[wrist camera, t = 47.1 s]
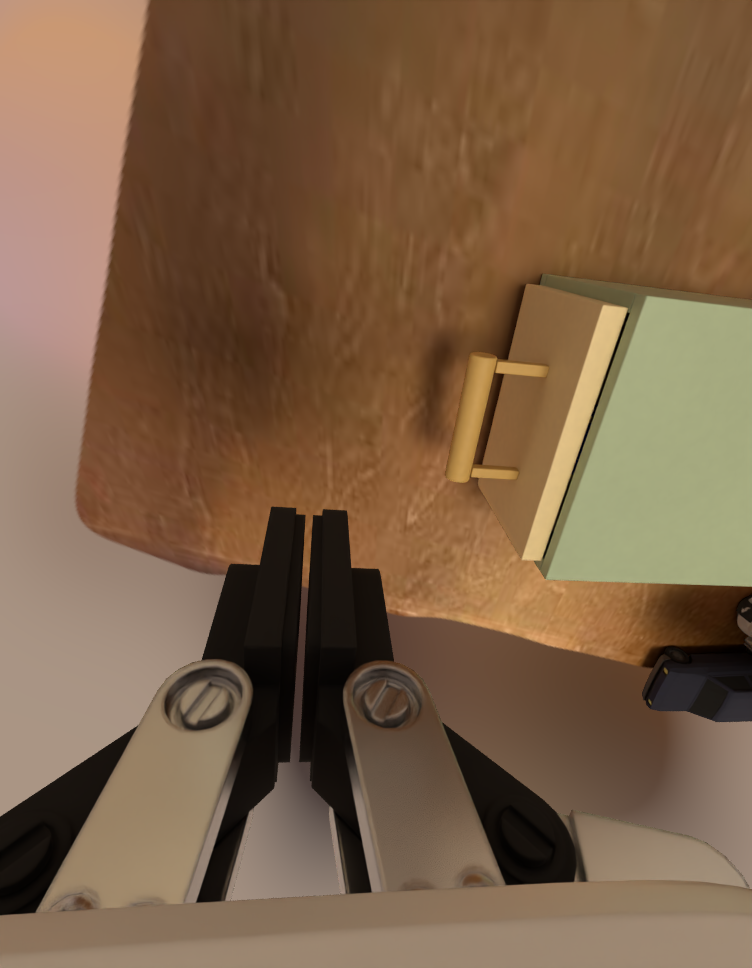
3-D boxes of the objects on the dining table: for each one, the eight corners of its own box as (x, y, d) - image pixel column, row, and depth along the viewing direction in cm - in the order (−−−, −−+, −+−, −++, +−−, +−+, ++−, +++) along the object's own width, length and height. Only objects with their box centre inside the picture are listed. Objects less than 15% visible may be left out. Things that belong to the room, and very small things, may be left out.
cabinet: (487, 487, 35) (545, 580, 26) (542, 273, 28) (647, 295, 19) (689, 499, 37) (809, 589, 28) (784, 303, 31) (984, 336, 21)
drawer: (419, 481, 33) (447, 557, 26) (456, 274, 27) (507, 293, 19) (672, 496, 36) (767, 570, 28) (759, 311, 30) (911, 341, 22)
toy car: (651, 645, 45) (686, 690, 41) (787, 641, 47) (835, 684, 42) (631, 687, 48) (662, 733, 43) (760, 682, 50) (803, 726, 45)
